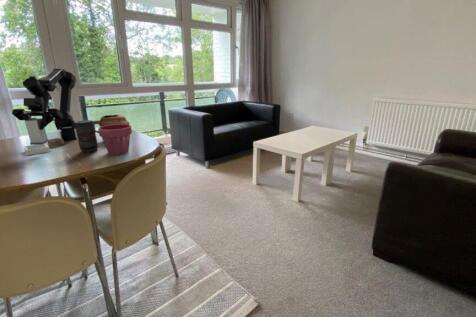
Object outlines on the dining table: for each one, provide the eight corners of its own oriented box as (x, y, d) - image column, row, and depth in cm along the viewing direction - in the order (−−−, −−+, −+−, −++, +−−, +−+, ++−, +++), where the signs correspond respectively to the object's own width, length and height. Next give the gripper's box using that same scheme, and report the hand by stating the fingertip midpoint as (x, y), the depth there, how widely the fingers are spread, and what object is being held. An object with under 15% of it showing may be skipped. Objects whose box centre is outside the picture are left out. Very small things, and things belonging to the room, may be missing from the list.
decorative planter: (95, 145, 139) (91, 119, 135) (91, 140, 148) (86, 116, 144) (134, 139, 151) (130, 115, 146) (127, 135, 160) (124, 112, 156)
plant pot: (125, 146, 137) (122, 122, 133) (139, 151, 129) (136, 126, 125) (97, 152, 127) (92, 126, 123) (110, 159, 118) (106, 131, 114)
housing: (36, 141, 124) (30, 117, 120) (48, 141, 125) (42, 117, 120) (30, 144, 119) (23, 119, 115) (43, 144, 120) (36, 119, 116)
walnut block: (58, 144, 142) (56, 138, 140) (64, 145, 140) (63, 139, 139) (48, 146, 137) (47, 140, 136) (55, 147, 135) (53, 141, 134)
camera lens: (102, 149, 131) (97, 120, 127) (89, 154, 124) (83, 123, 119) (90, 148, 134) (84, 119, 129) (76, 152, 127) (70, 122, 122)
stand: (46, 147, 134) (45, 142, 134) (50, 151, 128) (48, 146, 127) (24, 151, 129) (23, 146, 128) (27, 155, 122) (25, 150, 122)
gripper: (7, 90, 116) (-2, 120, 109) (54, 90, 119) (47, 119, 112) (23, 105, 126) (15, 134, 120) (65, 105, 129) (60, 132, 122)
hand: (34, 129), depth 118 cm, fingers closed on housing, 5 cm apart
